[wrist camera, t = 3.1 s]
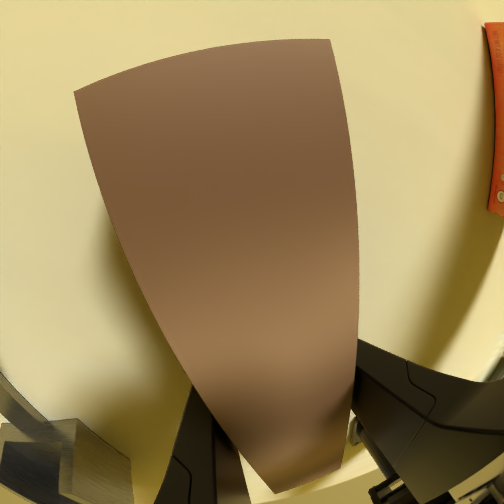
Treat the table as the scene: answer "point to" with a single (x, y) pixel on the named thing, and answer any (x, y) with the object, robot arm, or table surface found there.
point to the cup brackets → (57, 458)
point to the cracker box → (497, 114)
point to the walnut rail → (242, 236)
